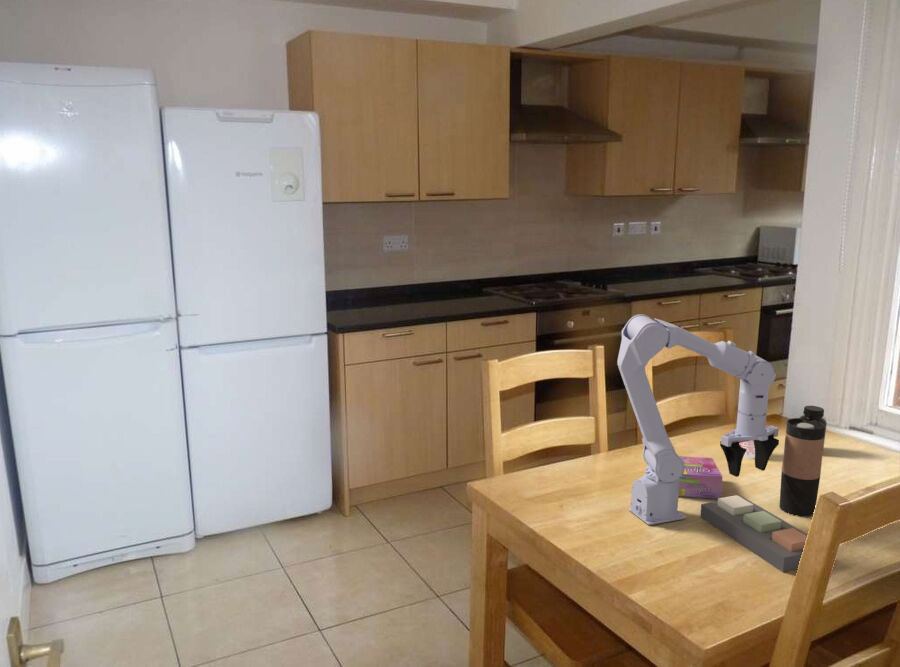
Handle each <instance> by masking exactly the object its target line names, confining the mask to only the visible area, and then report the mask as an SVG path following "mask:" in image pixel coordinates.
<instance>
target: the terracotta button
mask: <svg viewBox="0 0 900 667" xmlns="http://www.w3.org/2000/svg"><path fill="white" fill-rule="evenodd" d="M806 538H807V536H806V535H804V534H802V533H801V532H799V531H797V530H796V529H794V528H790V529H785V530H780V531H775V532H772V540H773V541H774V542H776V543H777V544H779V545H781V546H782V547H784V548H785V549H787V550H788V551H790V552H794V551H799V550H803V548H804V545H805V541H806Z"/></svg>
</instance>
